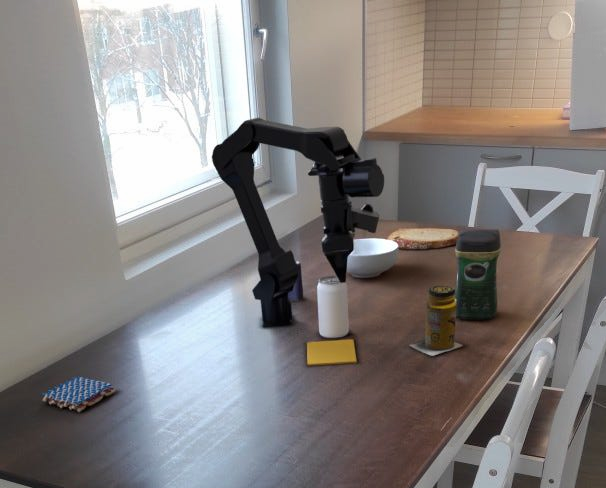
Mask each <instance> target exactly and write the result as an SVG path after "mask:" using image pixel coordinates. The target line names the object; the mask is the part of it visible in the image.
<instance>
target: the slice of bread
mask: <svg viewBox="0 0 606 488" xmlns="http://www.w3.org/2000/svg"><path fill="white" fill-rule="evenodd" d="M459 233H460V231H458V230H455V229H449V228H435V227H434V228H431V227H430V228H429V227H427V228H425V227H424V228H403V227H401V228H399V229H398V230H397V229H396V230H394V231H393V232H392V233H390V234H389V235H388V236H387V238H386V240H391V241H394V242H396V243H397V244H398V246H399V248H398V249H400V250H404V251H405V250H406V251H411V250H413V251H414V250H416V251H417V250H418V251H419V250H420V251H421V250H429V249H441V248H442V249H443V248H446V247H451V246H456V244H457V239H458V235H459Z"/></svg>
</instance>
